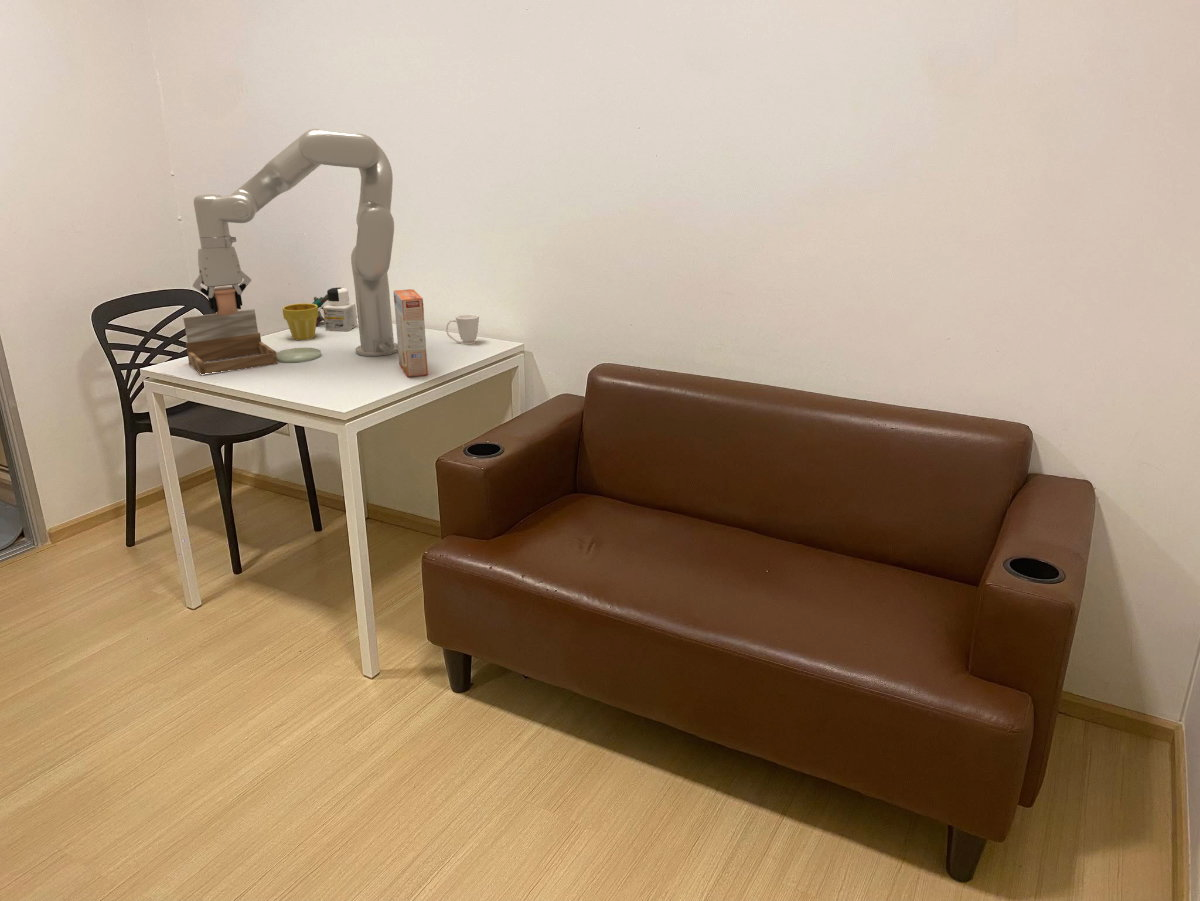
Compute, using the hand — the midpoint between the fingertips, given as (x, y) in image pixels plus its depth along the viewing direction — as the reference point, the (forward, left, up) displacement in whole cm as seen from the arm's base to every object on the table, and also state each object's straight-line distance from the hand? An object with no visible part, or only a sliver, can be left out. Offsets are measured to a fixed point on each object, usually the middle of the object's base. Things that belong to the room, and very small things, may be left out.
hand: (226, 309), depth 243 cm
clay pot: (0, 0, -1) cm, 1 cm away
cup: (-17, -62, -15) cm, 67 cm away
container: (+24, -39, -15) cm, 49 cm away
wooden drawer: (0, +1, -15) cm, 15 cm away
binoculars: (+34, -35, -16) cm, 51 cm away
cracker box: (-36, -37, -16) cm, 55 cm away
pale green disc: (-3, -16, -15) cm, 23 cm away
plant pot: (+19, -25, -15) cm, 35 cm away
